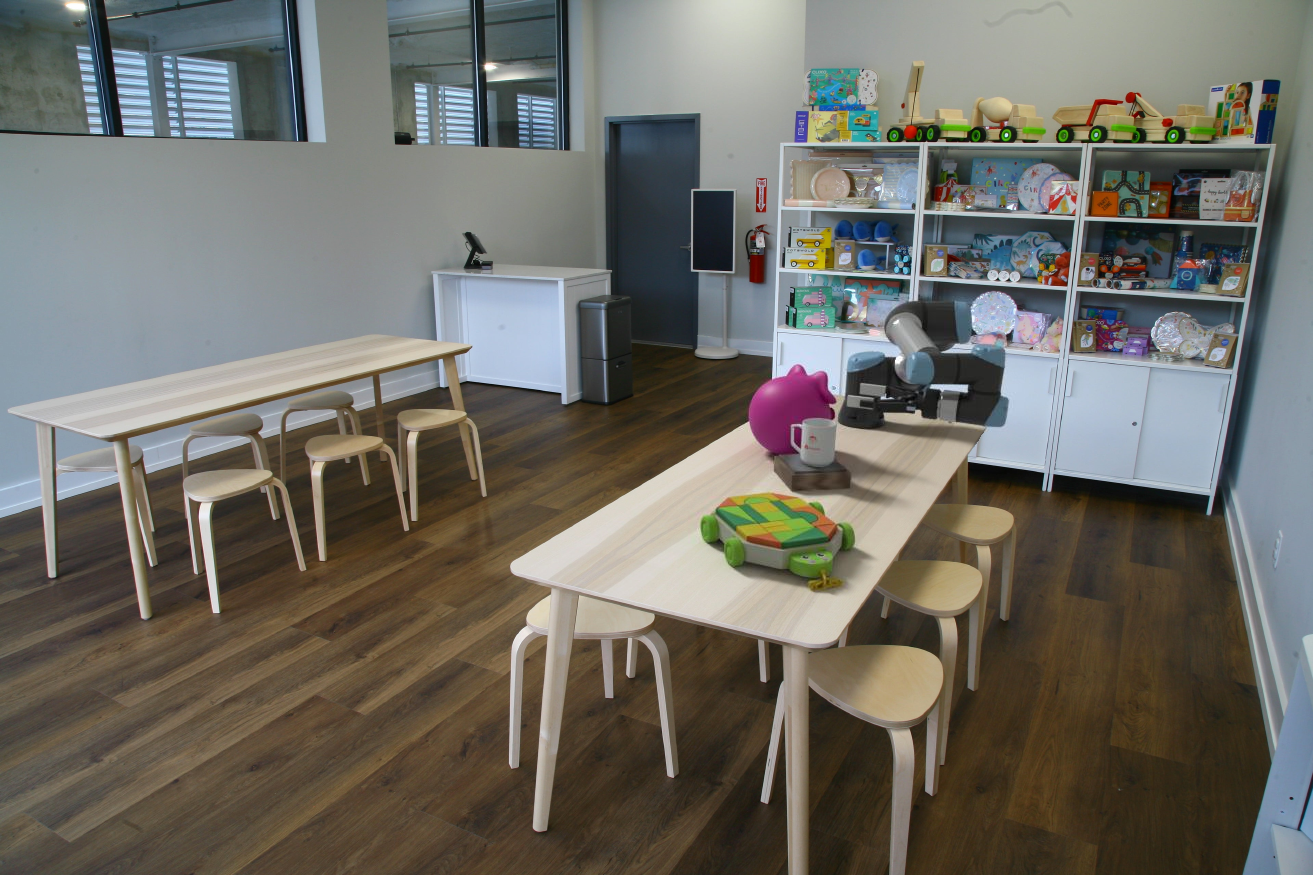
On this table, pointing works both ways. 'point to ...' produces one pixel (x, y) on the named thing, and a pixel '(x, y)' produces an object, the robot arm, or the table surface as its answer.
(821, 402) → the figurine
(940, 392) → the robot arm
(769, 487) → the table surface
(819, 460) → the mug
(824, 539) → the toy wagon
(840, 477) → the walnut plinth
